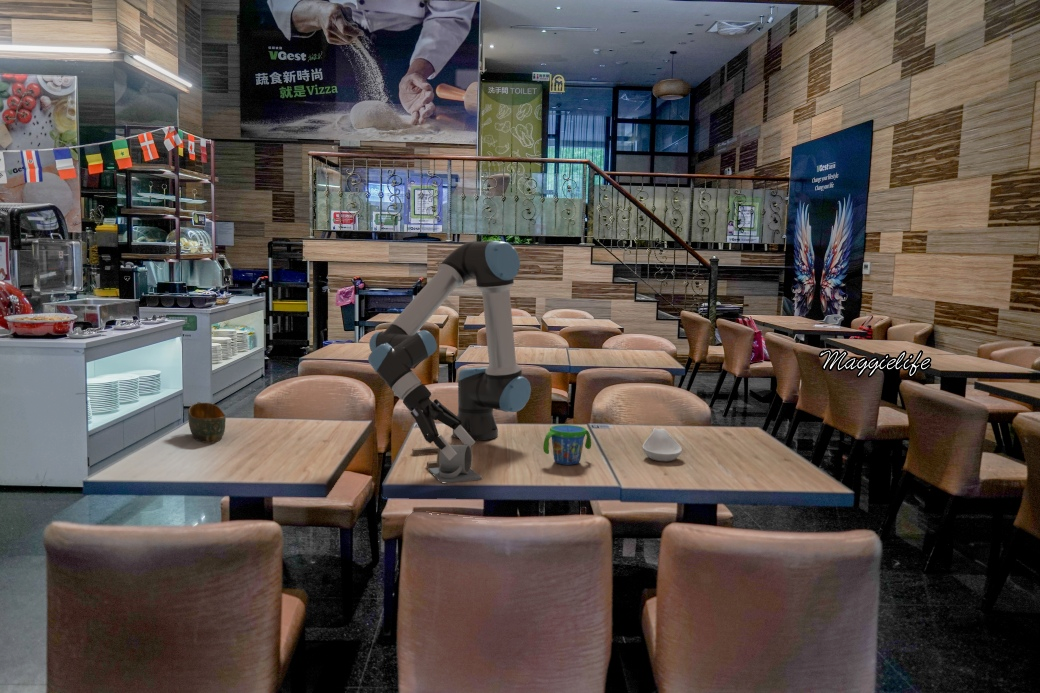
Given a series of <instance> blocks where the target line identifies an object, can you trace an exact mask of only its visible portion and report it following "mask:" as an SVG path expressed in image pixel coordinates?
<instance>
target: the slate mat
mask: <svg viewBox="0 0 1040 693" xmlns="http://www.w3.org/2000/svg"><path fill="white" fill-rule="evenodd" d="M427 470H429V471H430V472H429V473H430V474H432V473H433V474H434V475H435V476H436V477H437V478H438V479H439V480H440V481H441V482H451V483H460V482H461V483H462V482H471V481H470V480H472V481H479V480H480V481H481V479H482V480H483V476H481V475H480V474H479V473H477V472H476V471H474V470H473V469H472V467H471V468H470V471H469V473H468V474H461V473H459V475H458V476H456V477H454V478H449V479H447V478H443V477H441V476H440V474H439V468H427ZM441 472H442V473H445V474H450V472H443V471H441ZM433 474H432V475H433ZM434 475H433V476H434ZM435 476H434V477H435ZM436 477H435V478H436ZM437 478H436V479H437ZM438 479H437V480H438ZM439 480H438V481H439ZM440 481H439V482H440ZM441 482H440V483H441Z"/></svg>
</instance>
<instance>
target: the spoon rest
mask: <svg viewBox="0 0 1040 693" xmlns="http://www.w3.org/2000/svg"><path fill="white" fill-rule="evenodd" d="M642 451H643V452H644V454H645V456H647V457H648V458H650V459H651V460H653V461H657V462H664V463H665V462H671V461H674V460H677V458H678V457H680V456H681V455H682V454H681V453H682V451H683V447H682V446H681V445H680V444H679V443H678V442H677V441H676V440H675V438H673V437H672V436H671V435H670V433H669V432H668V431H667V430H666V429H665V428H664V427H663V428H656V427H654V428H653V429H652V431H651V433H650V435H648V437H647V438H646V440H645V441H644V442H643V444H642Z"/></svg>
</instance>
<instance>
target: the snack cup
mask: <svg viewBox="0 0 1040 693" xmlns="http://www.w3.org/2000/svg"><path fill="white" fill-rule="evenodd" d="M590 434H591V433H590V432H589V430H587V429H586V427H583V426H579V425H574V424H573V425H572V424H555V425H553V426H551V427H549V431H548V432H547V434H546V435H545V437H544V441H543V446H542V448H543V452H544V454H546V455H549V454H550V450H549V449H550V439H551V444H552V453H553V460H554V461H555V463H556V464H560V465H564V466H571V465H575V464H578V465H579V464H580V461H581V458H582V453H583V448H584V446H585V449H588V450H590V449H591V447H592V438H591V435H590ZM585 436H586V437H585ZM585 438H586V439H585ZM584 439H585V444H584Z"/></svg>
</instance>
